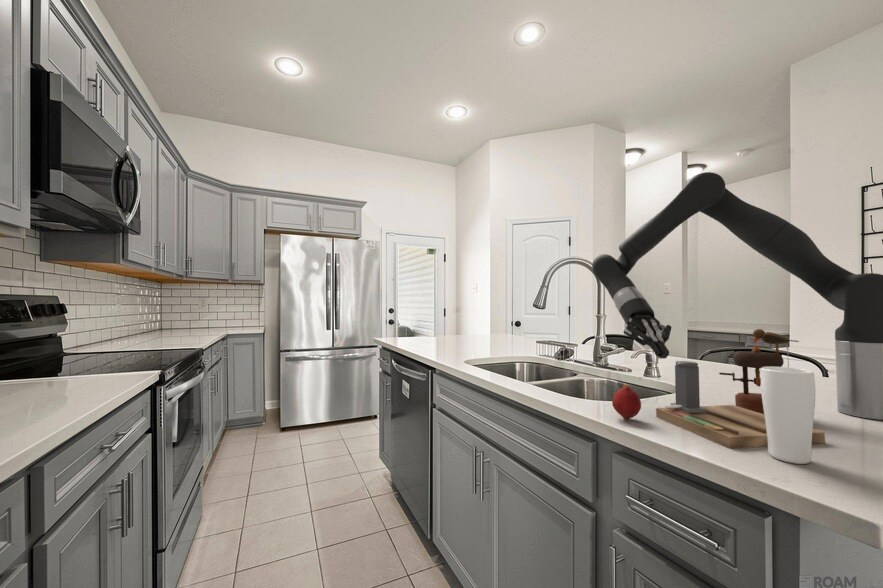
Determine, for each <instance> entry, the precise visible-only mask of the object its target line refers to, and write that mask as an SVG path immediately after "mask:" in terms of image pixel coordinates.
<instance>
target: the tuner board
mask: <svg viewBox="0 0 883 588" xmlns="http://www.w3.org/2000/svg"><path fill="white" fill-rule="evenodd" d="M700 407H702V408H705V409H706V412H703V413H688V412H685V411H682V410H679V409H677V408H666V407H656V408H655V417H656V418H658V419H660V420H663V421H665V422H667V423H670V424H672V425H674V424H675V425H674V426H676V427H679V428H681V429H684V430H686V431H688V430H689V432H691V433H693V434H695V433H696V435H697V434H698V436H701V437H702V438H705V439H707V440H709V441H712V442H714V443H717V444H719V445H721V446H723V447H726V448H728V449H741V448H742V449H743V448H760V447H762V448H763V447H768V440H767V432H766V424H765V417H764V414H761V413H758V412H755V411H751V410H748V409H744V408H741V407H738V406H736V405H733V404H729V405H728V404H727V405H725V404H724V405H701V406H700ZM825 434H826V433H825V431H822V430H818V429H814V428H813V432H812V445H815V444H816V443H817V444H826V435H825Z"/></svg>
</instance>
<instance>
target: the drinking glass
mask: <svg viewBox="0 0 883 588" xmlns="http://www.w3.org/2000/svg"><path fill="white" fill-rule="evenodd" d="M760 378H761V385H760V391H761V392H760V394H761V395H762V402H763V410H764V417H765V424H766V432H767V440H768V446H767V453H768V455H770V456H771V457H773V458H775V459H777V460H779V461H782V462H786V463H790V464H797V465H806V464H809V463H811V462H812V445H813V444H812V432H813V429H814V420H815V419H814V417H815V407H816V380H815V379H816V378H815V372H814V371H812V370H810V369H803V368H796V367H790V366H789V367H788V366H787V367H786V366H782V367H772V366H769V367H762V368H760Z"/></svg>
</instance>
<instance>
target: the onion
mask: <svg viewBox="0 0 883 588" xmlns="http://www.w3.org/2000/svg"><path fill="white" fill-rule="evenodd" d="M621 386H622V388H619V389H618V390H616V391H615V393H614V394H613V397H612V400H611V402H612V404H611V405H612V407H613V409H614V410H615V412H616V413H617V414H618V415H620V417H622V418H623V419H624V420H626V421H629V420H630V419H633V418H634V417H636V416H637V415H638V414H639V413H640V411H641V407H642V400H641V399H640V397H639V394H638V393H637V392H636V391H635V390H634V389H632V388H631V387H630V386H629V385H628V384H625V383H624V384H622V385H621Z"/></svg>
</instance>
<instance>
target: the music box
mask: <svg viewBox="0 0 883 588" xmlns="http://www.w3.org/2000/svg"><path fill="white" fill-rule="evenodd" d="M752 336H753V337H754V339H753V344H755V343H756V342H757V341H758V340H760V339H761V340H762V342H764V343H765V344H770V345H775V351H774V353H773V352H762V351H761V348H760V346H759V345H757V346H755V345H753V348H752V349H751V351H736V352H735V353H734V354H733V359H732V360H733V362H734V363H735V365H736V366H737V367H741V369H742V377H740V378H736V377H735V376H736V374H735V372H732V373H730V372H729V373H728V372H719V373H718V375H721V376H722V375H723V376H732V381H733V382H735V381H738V382H741V383H742V387H743V392H738V393H737V394H735V395H734V396H735V397H734V399H735V406H738V407H741V408H744V409H748V410H751V411H755V412H758V413H761V414H764V410H763V402H762V395H761V393H759V392H758V393H757V392H749V382H751V383H753V384H754V385H756V386H755V387H758V388H761V368H762V367H769V366H772V367H783V365H784V362H785V361H784V360H785V359H784V358H783V356H782V355H781V351H780V350H779V345H784V344H785V346H786V351H787V356H789V347H790V346H788V345H787V343H789V342H795V343H799V342H800V341H799V340H792V339H789V338H787V337H785V336H784V335H781V334H778V333H776V332H771V331H767V332H765V330H763V329H760V328H757V329H754V330H753V332H752ZM789 364H790V363H789V359H787V367H789V368H790V365H789ZM748 368H751V369H752V368H754V372H755V377H753V379H749V372H748V371H749V369H748Z"/></svg>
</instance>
